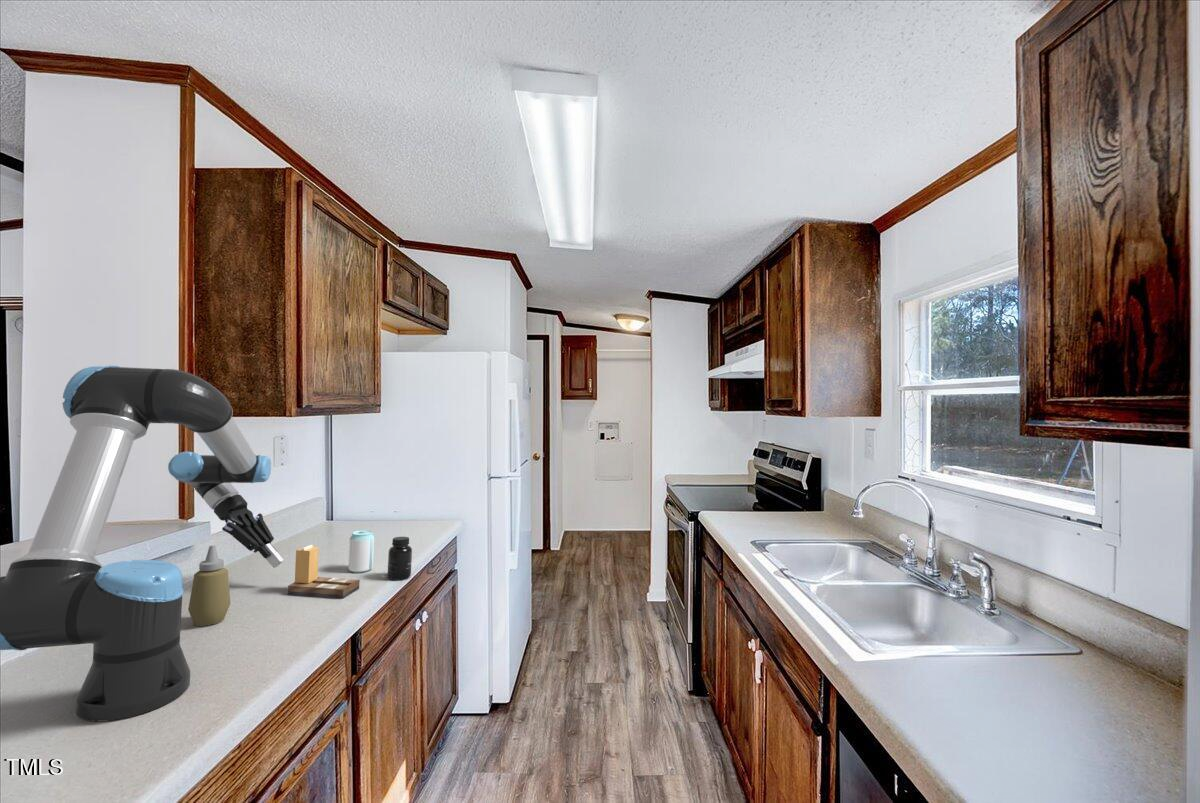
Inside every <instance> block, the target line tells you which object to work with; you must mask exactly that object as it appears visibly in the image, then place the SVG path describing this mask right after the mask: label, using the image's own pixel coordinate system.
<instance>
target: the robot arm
mask: <svg viewBox="0 0 1200 803" xmlns="http://www.w3.org/2000/svg"><path fill="white" fill-rule="evenodd" d="M62 399H64V401H63V402H62V409H63V411H64V414H65V415H66V417H67V418H68V419H70V420H69V424H70V425H71V426H72V427H73V429H74V430H75V431H76V432H75V435H74V438H73V439H72V440H73V441H72V442H71V445H70V446H69V447H70V448H69V450H68V452H67V455H66V456H65V460H64V462H63V465H62V467H61V470H60V472H59V475H58V478H57V479H56V482H55V485H54V487H53V490H52V493H51V495H50V497H49V500H48V502H47V505H46V508H45V510H44V513H43V515H42V518H41V520H40V522H39V525H38V528H37V530H36V533H35V535H34V538H33V540H32V543H31V545H30V548H29V549H28V550H29V551H27V553H26V554H24V555H23V556H20V557H19V558H17V559H15V560H13V561H11V563H10V565H9V568H8V570H7V572H6V574H5V576H4V575H2V576H0V651H8V650H9V651H10V650H11V651H12V650H14V651H26V650H28V649H35V648H36V649H37V648H49V647H62V646H63V647H64V646H74V645H85V644H87V645H88V644H91V645H92V644H93V647H92V648H93V652H92V662H91V665H90V667H89V669H88V672H87V674H86V676H85V679H84V681H83V684H82V686H81V688H80V690H79V692H78V695H77V698H76V705H75V707H76V709H75V713H76V717H78V718H79V719H81V720H84V721H89V720H90V722H99V721H98V720H109V721H116V719H117V720H120V719H121V720H122V719H127V718H132V717H135V716H139V715H141V714H145V713H147V712H151V711H154V710H156V709H158V708H161V707H164V706H165V705H167V704H170V703H171V702H173V701H174V700H176V699H178V698H179V697H181V696H182V695H183V694H184V693H185V692H186V691H187V690H188V688H189V687H190V685H191V670H190V667H189V663H188V662H187V659H186V657H185V654H184V652H183V648H182V647H181V627H182V605H183V594H184V586H183V573H182V570H181V568H180V567H179V566H177V565H175V564H174V563H170V562H167V561H164V560H154V559H132V560H129V561H128V560H121V561H116V562H112V563H108V564H106V565H102V563H101V562H99V560H98V559H97V558H96V556H95V555H96V553H97V549H98V547H99V544H100V541H101V538H102V535H103V532H104V529H105V526H106V523H107V520H108V518H109V514H110V511H111V508H112V505H113V502H114V499H115V497H116V493H117V490H118V488H119V485H120V483H121V479H122V476H123V474H124V470H125V468H126V464H127V462H128V459H129V455H130V452H131V450H132V446H133V444H134V441H136V440H138V439H141V438H142V437H144V436H146V434H147V431H148V429H149V426H150V424H177V425H182V426H184V427H185V428H186V429H187V430H189V431H191V432H193V433H196V434H197V435H198V436H199V437H200V438H201V439H202V441H203V442H204V443H205V444H206V446H207V448H208V449H209V450H210V451H211V452H212V454H213V455H212V454H211V455H208V454H205V455H203V454H202V455H201V454H199V453H196V452H193V451H182V452H179V453H177V454H175V455H174V456H172V457H171V459H170V460H169V461H168V464H167V466H168V467H167V468H168V469H167V470H168V473H169V474H170V475H171V476H172V477H174V479H175V480H177V481H180V482H182V483H184V484H186V485H188V484H189V485H188V486H190V485H192V486H193V487H194V488H195V489H194V488H193V487H192V486H191V487H192V488H193V489H194V490H195V491H196V493H197V494H199V496H200V497H201V498H202V500H204V502H205V503H206V504H207V505H208V506H209V508H210V509H211V510H213V513H214V514H215V515H216V517H218V519H219V520H220V521H223V522H225V525H224V526H222V528H221V529H222V531H223V532H226V533H227V534H228V535H230V536H232V537H233V539H235V540H236V541H238V542H239V543H240V544H241V545H242V546H244V547H245V548H246V549H247V550H248V551H250V552H253V553H258V552H259V554H260V555H261V556H262V557H263V558H264V559H265V560H266V561H267V562H268V563H269V565H270V566H271V567H272V568H273V569H275V568H277V567H279V565H281V564H283V562H284V558H283V557H282V556H281V555H280V553H279V552H278V551H277V549H276V548H275V547H274V546H273V544H272V542H273V540H275V538H274V536H273V534H272V532H271V531H270V529H269V528H268V526H267V524H266V522H265V520H264V517H263V513H261V512H260V513H258V514H254V513H253V512H252V511H251V510H250V509H248V502H247V500H246V499H245V498H244V497H243V496H242V495H241V494H240V492H239V491H238V490H237V489H236V488H235V486H234V485H233V484H236V483H237V484H243V483H244V484H254V483H265V482H267V481H268V480H269V478H270V475H271V471H272V461H271V458H270V457H269V456H268V455H261V454H258V455H256V454H255V452H254V451H253V449H252V447H251V446H250V444H249V442H248V441H247V439H246V438H245V435H244V434H243V433H242V431H241V429H240V428H239V426H238V424H237V423H236V421H235V420H234V418H233V413H234V410H233V407H232V405H231V403H230V401H229V399H228V398H227V397H226V396H225V395H224V394H223V393H222V392H221V391H220V390H219V389H218V388H216V387H215V386H213V385H212V384H211V383H210V382H208V381H206V380H204V379H203V378H201V377H199V376H196V375H195V374H192V373H190V372H187V371H183V370H179V369H173V368H152V367H151V368H146V367H129V366H128V367H126V366H125V367H124V366H117V365H105V366H104V365H103V366H101V365H99V366H98V365H97V366H96V365H95V366H88V367H85V368H82V369H80V370H78V371H77V372H76V373H75V374H73V376H71V377H70V379H69V381H68V382H67V384H66V386H65V388H64V390H63V394H62ZM114 719H115V720H114ZM92 720H94V721H92Z"/></svg>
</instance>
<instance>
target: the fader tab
mask: <svg viewBox="0 0 1200 803" xmlns="http://www.w3.org/2000/svg"><path fill="white" fill-rule="evenodd" d="M319 547H320V546H314V544H309V545H307V546H305V545H304V546H303V547H300V548H298V549H296V550H295V567H294V568H295V570H294V582H295V583H313V581H314V580H316V579H317V577H319V576H318V573H319V572H318V571H319V550H320V548H319Z"/></svg>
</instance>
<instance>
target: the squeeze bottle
mask: <svg viewBox="0 0 1200 803" xmlns="http://www.w3.org/2000/svg"><path fill="white" fill-rule="evenodd" d="M216 547H217V546H216V545H210V546H209V547H208V550H207V554H206V556H205V560H203V561H202V560H201V562H199V566H198V569H199V570H198V571H197V572H195V573H193V574H194V575H193V580H192V586H191V591H190V597H189V603H188V613H189V616H190V618H191V620H192V623H193V625H194V626H197V627H208V626H212V625H211V624H213V625H216V624H219V623H222V620H223V621H224V619H225V618H226V615H227V613H228V611H229V608H230V605H231V593H230V581H229V571H228V569H226V568H225V567H224V566H225V565H224V564H225V563H224V562H225V561H224V559H222V558H219V556H218V550H217V548H216ZM218 622H219V623H218ZM215 623H216V624H215ZM207 625H208V626H207Z"/></svg>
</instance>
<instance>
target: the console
mask: <svg viewBox="0 0 1200 803" xmlns="http://www.w3.org/2000/svg"><path fill="white" fill-rule="evenodd" d="M360 583H361V582H360V579H352V578H343V577H342V578H341V577H323V576H317V579H316V580H314V581H313V583H295V581H294V582H292V583H291V584H288V585H287V596H298V595H300V597H301V596H302V597H313V598H325V599H326V598H327V599H328V598H329V599H341V600H344V599H345V598H347V597H348V596H350V595H351V594H353V593H354V592H356V591H358V590H359V589H360Z"/></svg>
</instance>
